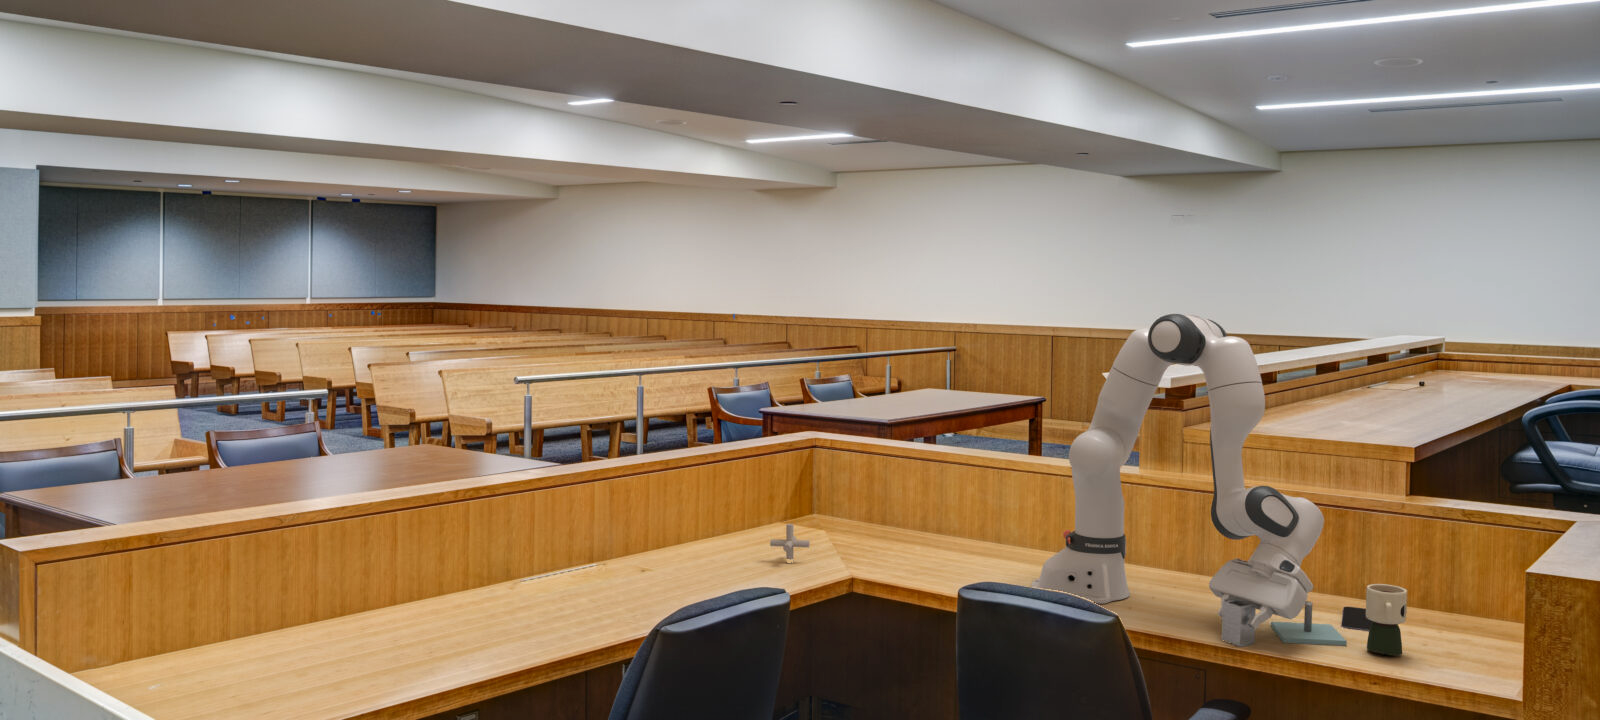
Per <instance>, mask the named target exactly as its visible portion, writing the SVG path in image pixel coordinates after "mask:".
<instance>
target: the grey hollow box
mask: <svg viewBox="0 0 1600 720" xmlns="http://www.w3.org/2000/svg"><path fill="white" fill-rule="evenodd" d="M1256 610H1257V609H1256V605H1254V604H1251V603H1248V602H1244V601H1241V600H1238V599H1236V600H1231V601H1225V602H1223V610H1222V617H1221V641H1222V640H1224V641H1227V642H1230V643H1232V644H1231V645H1233V644H1235V645H1237V646H1236V647H1238V646H1239V648H1242V646H1243V647H1246V646H1251V645H1255V641H1256V638H1255V637H1256V629H1255V628H1252V627H1250V626H1249V625H1248V624H1247V621H1248V620H1249V618H1250V616H1256V612H1257V611H1256ZM1224 641H1223V642H1224ZM1227 642H1226V643H1227ZM1230 643H1229V644H1230ZM1235 645H1234V646H1235Z"/></svg>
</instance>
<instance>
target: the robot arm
mask: <svg viewBox="0 0 1600 720" xmlns="http://www.w3.org/2000/svg"><path fill="white" fill-rule="evenodd" d="M1173 364H1176V365H1180V366H1183V367H1184V366H1185V367H1186V366H1187V367H1188V366H1189V367H1190V366H1194V367H1198V368H1199V369H1200V370H1201V371H1202V373H1203V375H1204V379H1205V384H1206V390H1207V393H1208V394H1207V395H1208V400H1209V401H1208V402H1209V410H1210V411H1209V412H1210V426H1209V427H1210V429H1209V445H1210V446H1209V447H1210V457H1211V459H1210V460H1211V470H1212V481H1213V497H1212V502H1211V505H1210V506H1211V508H1210V517H1211V521H1212V524H1213V526H1214V528H1215V529H1216V530H1217V532H1219V534H1220V535H1222V536H1223V537H1225V538H1227V539H1229V540H1235V541H1238V540H1239V541H1240V540H1243V539H1246V538H1249V537H1252V536H1257V537H1258V538H1259V540H1260V543H1259V544H1258V546H1256V549H1255V550H1254V551H1253V553H1252V555H1251V556H1250V558H1249V559H1248V560H1243V559H1241V558H1234V559H1230V560H1227V561H1226V563H1224V565H1222V566H1221V567H1220V568H1219V570H1217V571H1216V573H1215V574H1214V575H1213V576H1212V578H1211V579H1210V580H1209V582H1208V587H1209V589H1210V591H1211V592H1212V593H1213V595H1214V596H1215V597H1218V598H1221V599H1220V600H1221V602H1220V606H1221V607H1220V608H1219V610H1218V611H1217V614H1218V616H1219V617H1220V618H1222V610H1223V602H1225V601H1231V600H1236V599H1238V600H1241V601H1244V602H1248V603H1251V604H1254V605H1256V610H1258V611H1259V610H1260V612H1258V613H1257V614H1255V616H1250V618H1249V620H1248V621H1247V624H1248V625H1249V626H1250V627H1252V628H1255V630H1257V629H1258V628H1259V626H1261V624H1262V623H1264V622H1266V621H1268V620H1269V619H1271V617H1272V616H1273V615H1275V616H1278V617H1280V618H1284V619H1287V620H1293V619H1294V618H1296V617H1298V616H1299V614H1300V613H1301V612H1302V610H1303V608H1304V607H1305V603H1306V601H1308V594H1309V593H1310V592H1312V590H1313V589H1314V585H1313V583H1312V581H1311V580H1310V578H1309V577H1308V575H1307V574H1306V573H1305V571H1304V570H1303V569H1301V568H1302V567H1301V565H1302V561H1303V560H1304V558H1306V556H1307V555H1309V554H1310V553H1311V551H1312V549H1313V548H1314V546H1315V545H1316V543H1317V541H1318V539H1319V537H1320V536H1321V533H1322V531H1323V529H1324V524H1325V518H1324V514H1323V512H1322V511H1321V510H1320V508H1319V507H1318V506H1317V505H1316V504H1315V503H1313V502H1312V501H1311V500H1309V499H1307V498H1306V497H1301V496H1299V497H1298V496H1297V497H1295V496H1290V495H1286V494H1283V493H1282V492H1280V491H1279V490H1278V489H1276V488H1274V487H1271V486H1268V485H1258V486H1253V487H1248V488H1247V487H1246V486H1245V478H1244V477H1245V476H1244V468H1243V458H1242V457H1243V456H1242V452H1243V447H1244V444H1245V441H1246V439H1247V438H1248V437H1249V435H1250V433H1251V432H1252V431H1253V430H1254V429H1255V428H1256V426H1258V424H1259V423H1260V422H1261V420H1262V419H1263V416H1264V415H1265V412H1266V397H1265V391H1264V390H1265V389H1264V386H1263V380H1262V376H1261V373H1260V369H1259V365H1258V362H1257V359H1256V357H1255V355H1254V352H1253V350H1252V347H1251V345H1250V343H1249V342H1248V341H1247V340H1246V339H1244V338H1242V337H1239V336H1231V335H1230V336H1229V335H1228V334H1227V332H1226V331H1225V329H1224V327H1222V326H1221V325H1220V324H1219V323H1217V322H1216V321H1214V320H1212V319H1209V318H1208V319H1207V318H1204V317H1202V316H1198V315H1193V314H1190V315H1189V314H1181V313H1170V314H1165V315H1163V316H1160V317H1159V318H1157V319H1156V320H1155V321H1153V323H1152V324H1151V326H1150V328H1146V327H1143V328H1138V329H1135V330H1133V331H1132V332H1131V333H1130V335H1129V336H1128V338H1127V339H1126V340H1125V342H1124V344H1123V345H1122V347H1121V348H1120V350H1119V352H1118V353H1117V356H1116V357H1115V359H1114V361H1113V364H1112V365H1111V368H1110V370H1109V372H1108V375H1107V377H1106V379H1105V381H1104V383H1103V386H1102V388H1101V390H1100V392H1099V395H1098V397H1097V403H1096V407H1095V410H1094V414H1093V417H1092V420H1091V422H1090V425H1089V426H1088V428H1087V430H1086V431H1084V432H1082V433H1080V434H1079V435H1078V436H1076V438H1074V440H1073V442H1072V443H1071V446H1070V448H1069V452H1068V460H1069V464H1070V466H1071V468H1070V469H1071V476H1072V483H1073V488H1074V489H1073V491H1074V498H1075V500H1074V501H1075V503H1074V507H1075V509H1074V512H1075V513H1074V514H1075V515H1074V530H1073V531H1071V530H1070V529H1065V530H1064V531H1063V534H1062V535H1063V538H1064V539H1065V547H1064V548H1062V549H1061V550H1060V551H1058V552H1056V553H1055V554H1054V555H1052V556H1051V557H1049V558H1047V559H1046V561H1044V563H1043V565H1042V568H1041V572H1040V576H1039V578H1037V579H1034V580H1033V581H1032V582H1031V583H1030V588H1031V587H1036V588H1043V589H1051V590H1058V591H1063V592H1067V593H1071V594H1074V595H1078V596H1080V597H1084V598H1086V599H1089V600H1091V601H1093V602H1095V603H1094V604H1102V605H1104V604H1108V603H1110V602H1113V601H1119V600H1124V599H1127V598H1129V596H1130V595H1131V594H1130V591H1129V587H1128V582H1127V576H1126V569H1125V568H1126V567H1125V559H1126V554H1127V538H1126V533H1125V498H1124V495H1123V491H1122V490H1123V488H1122V482H1121V481H1122V479H1121V468H1122V467H1123V466H1124V465H1126V463H1127V462H1128V460H1129V458H1130V456H1131V453H1132V451H1133V448H1134V446H1135V444H1136V441H1137V439H1138V436H1139V432H1140V430H1141V427H1142V423H1143V421H1144V419H1145V416H1146V413H1147V411H1148V409H1149V407H1150V405H1151V403H1152V400H1153V398H1154V396H1155V393H1156V391H1157V390H1158V387H1159V385H1160V383H1161V381H1162V379H1163V377H1164V374H1165V372H1166V370H1167V369H1168V368H1169V367H1170V366H1171V365H1173Z"/></svg>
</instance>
